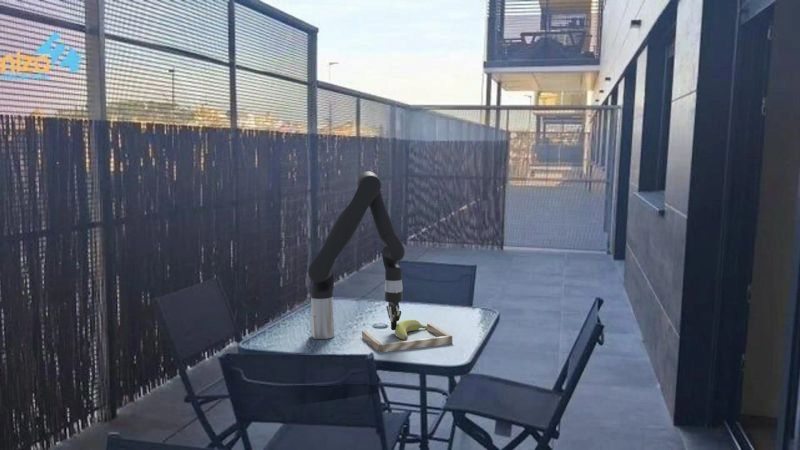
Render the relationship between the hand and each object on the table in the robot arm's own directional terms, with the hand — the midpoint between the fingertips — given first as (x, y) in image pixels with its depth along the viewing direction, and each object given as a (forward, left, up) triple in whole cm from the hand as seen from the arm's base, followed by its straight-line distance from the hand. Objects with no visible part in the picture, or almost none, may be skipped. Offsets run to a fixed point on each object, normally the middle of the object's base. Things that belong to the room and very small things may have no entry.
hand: (393, 329), depth 298 cm
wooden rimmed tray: (+1, -13, -2) cm, 13 cm away
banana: (+7, -4, -2) cm, 8 cm away
